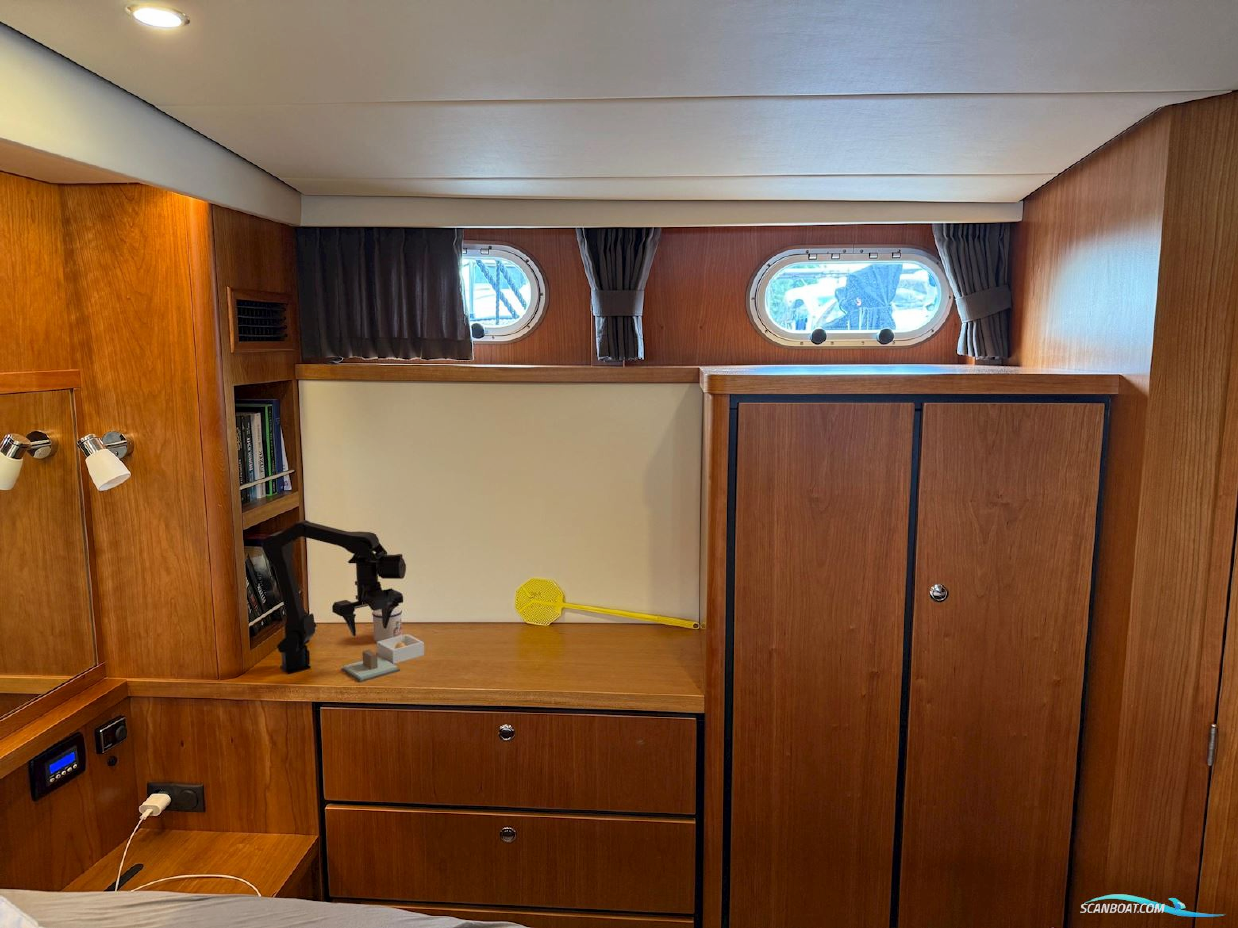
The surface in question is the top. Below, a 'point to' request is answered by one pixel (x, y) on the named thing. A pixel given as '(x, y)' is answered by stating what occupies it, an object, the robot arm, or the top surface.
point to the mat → (369, 677)
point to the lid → (370, 666)
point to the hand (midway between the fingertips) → (369, 631)
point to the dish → (400, 648)
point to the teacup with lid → (392, 628)
